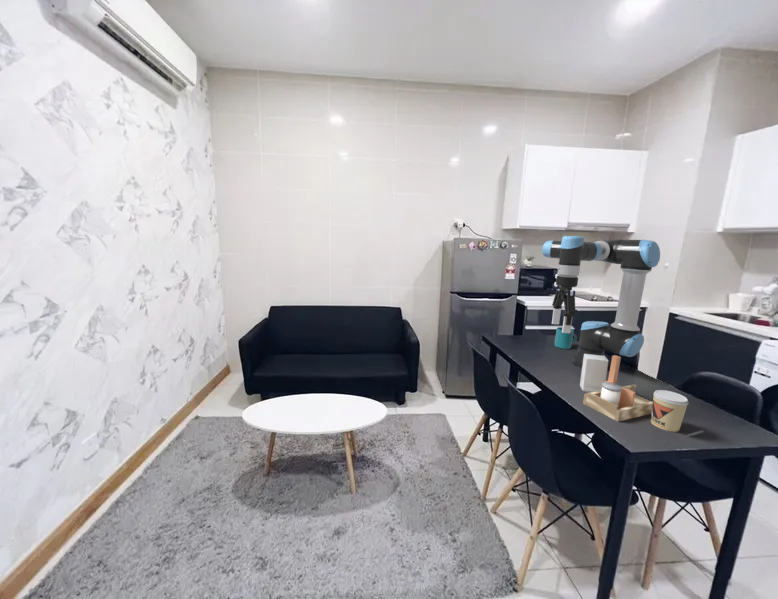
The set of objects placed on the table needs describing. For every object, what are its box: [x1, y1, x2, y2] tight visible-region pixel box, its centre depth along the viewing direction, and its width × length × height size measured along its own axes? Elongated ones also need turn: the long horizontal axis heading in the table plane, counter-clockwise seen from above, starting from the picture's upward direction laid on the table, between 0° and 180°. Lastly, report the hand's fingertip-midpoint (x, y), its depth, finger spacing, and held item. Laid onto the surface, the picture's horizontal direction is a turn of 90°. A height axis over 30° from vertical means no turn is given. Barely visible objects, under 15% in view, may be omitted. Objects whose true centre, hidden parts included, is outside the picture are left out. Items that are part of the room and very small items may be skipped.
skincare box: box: [579, 354, 610, 393], centre depth 144 cm, size 8×7×16 cm
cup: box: [554, 326, 577, 350], centre depth 204 cm, size 9×12×11 cm
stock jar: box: [600, 382, 622, 406], centre depth 127 cm, size 6×6×10 cm
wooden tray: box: [582, 384, 653, 422], centre depth 131 cm, size 29×14×6 cm, turn 112°
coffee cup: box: [650, 389, 689, 433], centre depth 118 cm, size 9×9×12 cm
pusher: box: [605, 354, 636, 409], centre depth 128 cm, size 4×11×19 cm, turn 22°
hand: (560, 328), depth 137 cm, fingers open, 13 cm apart
